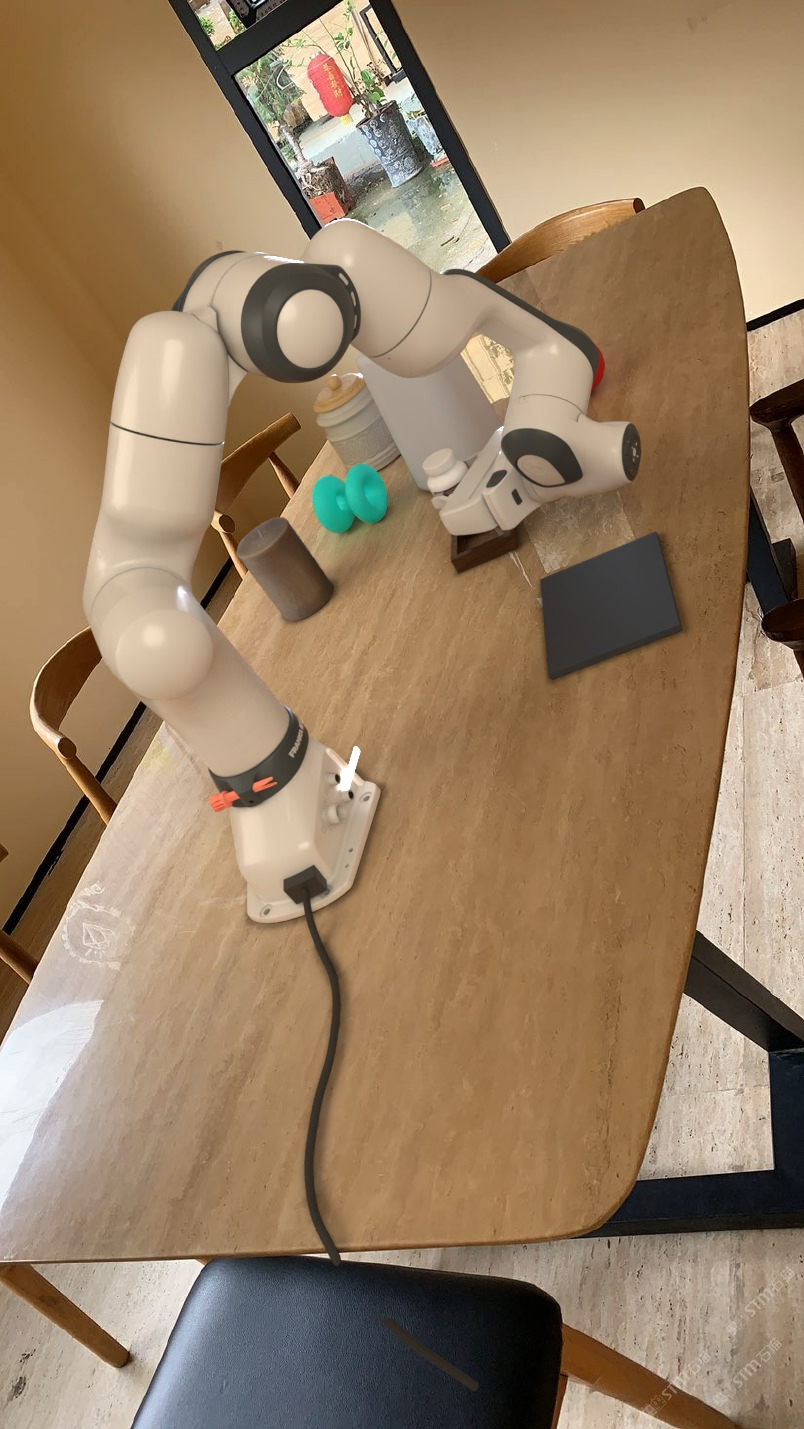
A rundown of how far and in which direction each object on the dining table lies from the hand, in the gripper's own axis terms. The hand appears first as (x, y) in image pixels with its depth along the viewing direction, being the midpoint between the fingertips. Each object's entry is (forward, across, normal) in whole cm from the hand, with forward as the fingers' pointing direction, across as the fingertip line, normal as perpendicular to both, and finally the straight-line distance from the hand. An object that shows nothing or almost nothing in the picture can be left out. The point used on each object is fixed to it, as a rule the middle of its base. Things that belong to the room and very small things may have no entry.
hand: (446, 484), depth 147 cm
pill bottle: (-1, 0, +7) cm, 7 cm away
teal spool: (+31, -11, +11) cm, 34 cm away
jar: (+40, -32, +11) cm, 52 cm away
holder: (-1, 0, +11) cm, 11 cm away
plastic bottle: (+16, -24, +11) cm, 31 cm away
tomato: (-1, -38, +11) cm, 40 cm away
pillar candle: (+30, +9, +11) cm, 34 cm away
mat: (-27, +15, +11) cm, 33 cm away
